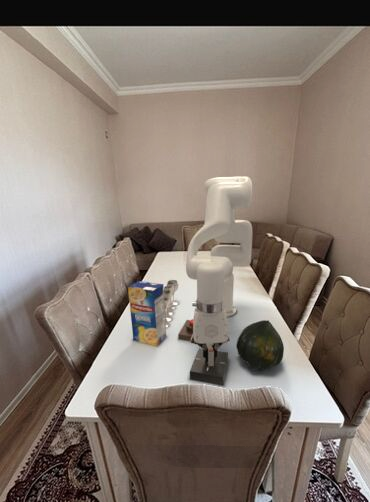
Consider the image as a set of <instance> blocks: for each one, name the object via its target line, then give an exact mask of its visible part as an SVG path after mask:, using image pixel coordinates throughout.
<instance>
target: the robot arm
mask: <svg viewBox="0 0 370 502" xmlns="http://www.w3.org/2000/svg"><path fill="white" fill-rule="evenodd" d="M204 191H205V194H206V204H205V214H204V223H203V226H202V227H201V228H200V229H198V230H197V232H196V233H195V234H193V235H194V236H193V237H192V238H191V240H190V242H189V244H188V248H187V252H186V253H187V254H186V260H185V261H186V262H185V273H186V275H187V277H188V278H189V279H191V280H194V281H196V300H194V301H191V305H192V307H195V308H194V313H193V319H194V320H193V335H192V337H191V341H190V343H191V344H193V345H197V346H198V347H200V348H201V349H203V358H205V359H206V362H208V348H207V345H206V343H212V347H213V351H214V361H215V357H217V351H219V348H220V347H221V346H222V345H223V344H225V343H229V342H230V337H229V326H228V317H232V316H234V315H235V314H236V313H237V308H236V307H235V306H234V283H235V282H234V281H235V277H234V273H233V272H234V268H248V267H249V266H250V265H251V263H252V255H253V254H252V253H253V252H252V251H253V226H252V223H251V222H250V221H249V220H247V219H236V218H235V209H237V210H238V209H248V208H249V207H250V205H251V202H252V199H253V198H252V197H253V182H252V179H251V178H250V177H249V176H220V177H219V176H218V177H212V178H209V179H207V180H206V181H205V183H204ZM213 239H214V240H215V241H216V242H217V243H223V244H218V245H215V246H213V247H212V248H211V250H210V255H198V252H199V249H200V248H201V247H202V246H203V245H204V244H205V243H206V242H209V241H210V240H211V241H212V240H213ZM232 244H233V245H232Z"/></svg>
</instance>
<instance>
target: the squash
mask: <svg viewBox="0 0 370 502" xmlns="http://www.w3.org/2000/svg"><path fill="white" fill-rule="evenodd" d="M235 349H236V351H237V355H238V356H239V357H240V359H241V360H242V361H243V362H245V363H247V365H248V367H249V369H251V370H253V371H256V370H262V371H264V372H265V371H269V370H270V369H272V368H273V367H277V366H278V365H279V364H280V363H282V360H283V358H284V351H285V347H284V342H283V339H282V337H281V335H280V334H279V332H278V331H277V329H276V328H275V327H274V325H273V323H271V321H270V320H265V319H264V320H260V321H256V322H253V323H251V324H249V325H247V326H246V327H244V329H242V331H241V333H240V334H239V336H238V337H237V341H236V345H235Z"/></svg>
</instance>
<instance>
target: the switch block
mask: <svg viewBox="0 0 370 502" xmlns="http://www.w3.org/2000/svg"><path fill="white" fill-rule="evenodd" d="M190 320H191V319H185V322H184V323H183V326H182V327H181V329H180V330H179V333H178V335H177V337H178V338H177V339H178V340H180V341H188V342H191V337H192V335H193V327H192V326H190Z"/></svg>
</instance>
